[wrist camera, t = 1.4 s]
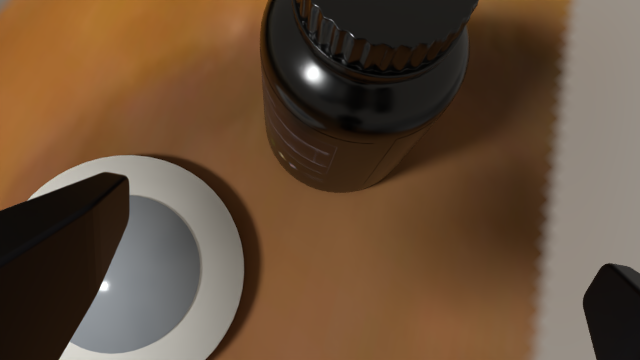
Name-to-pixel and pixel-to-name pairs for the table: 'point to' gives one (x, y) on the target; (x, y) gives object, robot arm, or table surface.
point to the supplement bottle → (357, 82)
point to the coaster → (161, 268)
